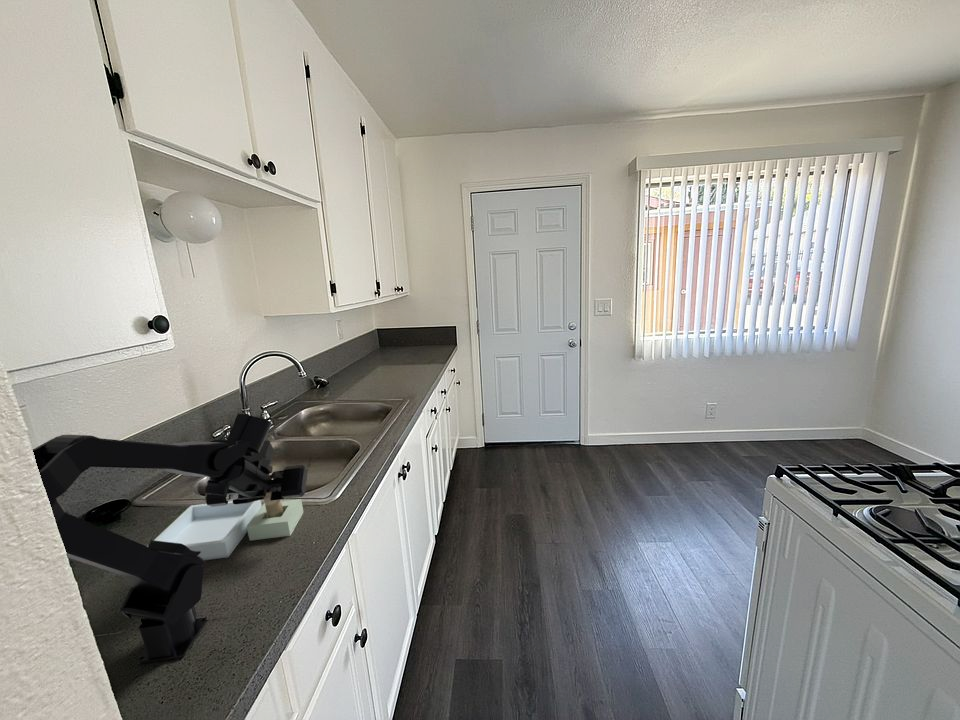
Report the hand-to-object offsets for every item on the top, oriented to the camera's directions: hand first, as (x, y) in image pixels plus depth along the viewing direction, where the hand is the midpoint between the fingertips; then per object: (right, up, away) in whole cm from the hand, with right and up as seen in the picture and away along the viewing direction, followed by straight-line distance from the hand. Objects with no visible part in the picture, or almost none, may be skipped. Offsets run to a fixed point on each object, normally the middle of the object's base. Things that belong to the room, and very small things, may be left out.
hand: (275, 494), depth 86 cm
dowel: (+1, -7, 0) cm, 7 cm away
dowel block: (+1, -7, 0) cm, 7 cm away
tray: (-13, -8, -2) cm, 16 cm away
